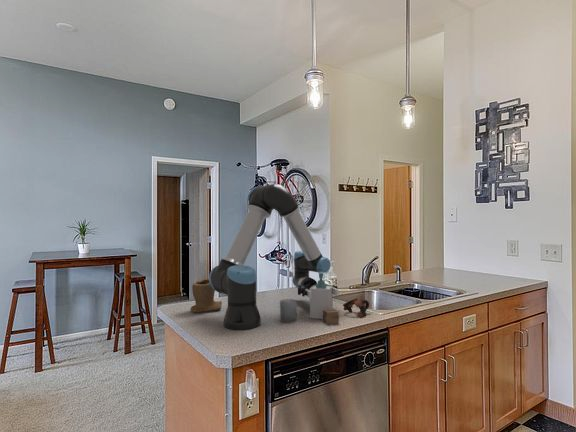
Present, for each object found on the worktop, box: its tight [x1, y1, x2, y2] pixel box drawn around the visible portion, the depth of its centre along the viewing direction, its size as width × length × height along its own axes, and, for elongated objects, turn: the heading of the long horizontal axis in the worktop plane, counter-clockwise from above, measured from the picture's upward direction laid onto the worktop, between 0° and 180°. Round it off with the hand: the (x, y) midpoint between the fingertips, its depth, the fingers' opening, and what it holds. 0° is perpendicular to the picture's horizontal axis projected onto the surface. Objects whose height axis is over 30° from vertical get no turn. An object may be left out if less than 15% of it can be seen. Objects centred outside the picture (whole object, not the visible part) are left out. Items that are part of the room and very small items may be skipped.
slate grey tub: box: [279, 298, 298, 323], centre depth 152 cm, size 7×7×8 cm
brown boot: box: [190, 278, 223, 313], centre depth 169 cm, size 15×12×15 cm
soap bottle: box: [309, 272, 334, 320], centre depth 157 cm, size 9×9×19 cm
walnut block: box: [322, 308, 340, 326], centre depth 147 cm, size 5×5×5 cm
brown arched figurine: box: [342, 297, 370, 318], centre depth 159 cm, size 12×10×8 cm
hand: (324, 293), depth 153 cm, fingers closed on soap bottle, 12 cm apart
